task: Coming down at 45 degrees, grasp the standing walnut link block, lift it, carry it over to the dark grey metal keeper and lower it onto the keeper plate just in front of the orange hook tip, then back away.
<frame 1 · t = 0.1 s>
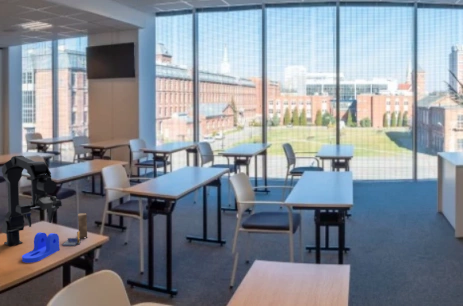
hand: (40, 224, 202), 15 cm above the table, tool pointing down, fingers open, 9 cm apart
keeper: (71, 243, 221), on the table
link block: (83, 237, 232), on the table
bracket: (39, 256, 205), on the table
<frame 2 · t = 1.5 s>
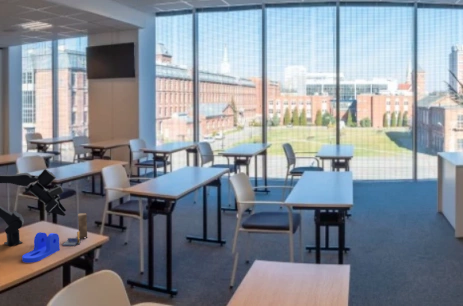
hand: (65, 213, 228), 13 cm above the table, tool tilted 45°, fingers open, 9 cm apart
nothing on the table moved.
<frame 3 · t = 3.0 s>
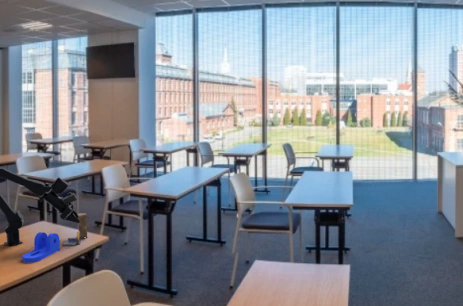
hand: (79, 220, 231), 9 cm above the table, tool tilted 45°, fingers open, 9 cm apart
nothing on the table moved.
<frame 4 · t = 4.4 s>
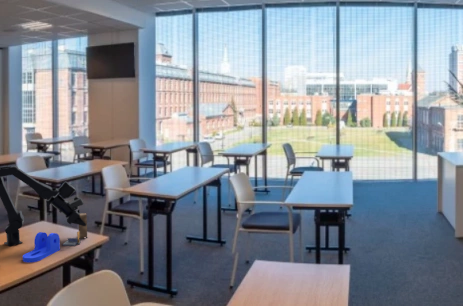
hand: (85, 224, 232), 7 cm above the table, tool tilted 45°, fingers closed on link block, 4 cm apart
link block: (83, 237, 232), on the table, touching gripper
everything else where it was.
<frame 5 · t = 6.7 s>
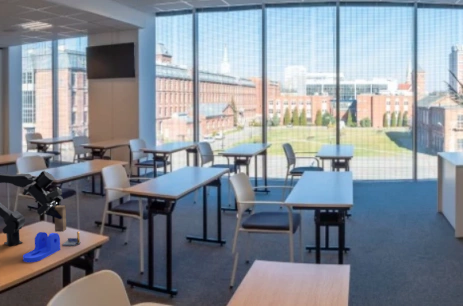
hand: (63, 217, 220), 13 cm above the table, tool tilted 45°, fingers closed on link block, 4 cm apart
link block: (60, 230, 221), point 7 cm above the table, touching gripper
everything else where it was.
when the fingers open (8 cm above the table, at t = 8.7 s): link block stays where it is, resting on keeper.
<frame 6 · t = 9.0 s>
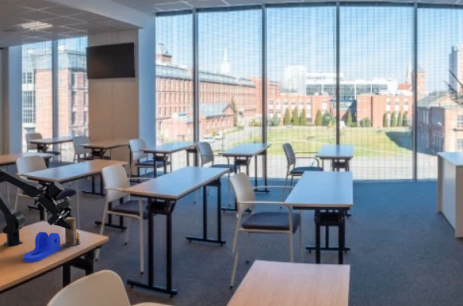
hand: (73, 226, 220), 9 cm above the table, tool tilted 45°, fingers open, 7 cm apart
link block: (71, 242, 221), point 1 cm above the table, touching keeper
everything else where it was.
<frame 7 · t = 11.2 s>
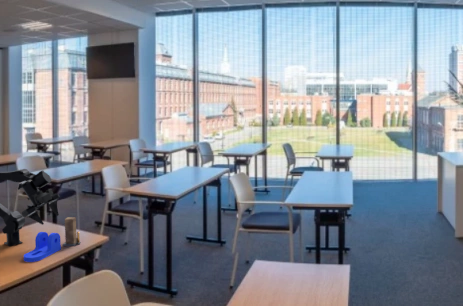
hand: (50, 219, 220), 12 cm above the table, tool tilted 30°, fingers open, 9 cm apart
nothing on the table moved.
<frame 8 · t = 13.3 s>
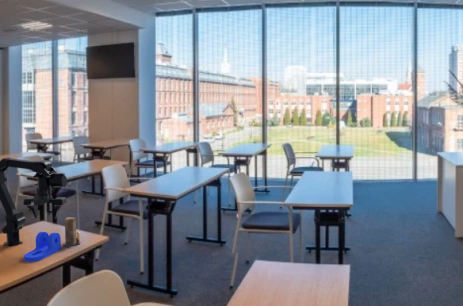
hand: (45, 218, 219), 13 cm above the table, tool pointing down, fingers open, 9 cm apart
at the end: link block 0.0 cm off-centre on the keeper, point 0.8 cm above the keeper's base; link block tilted 0°; the gripper is holding nothing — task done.
